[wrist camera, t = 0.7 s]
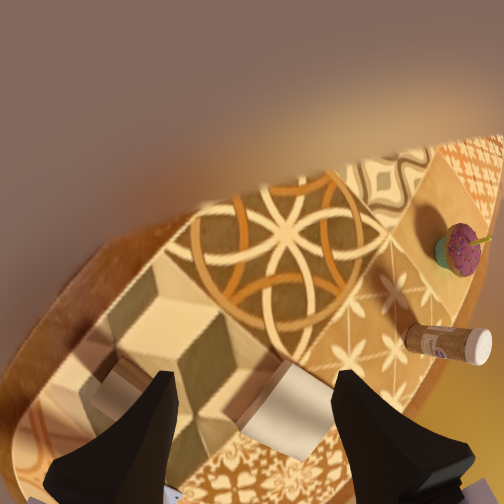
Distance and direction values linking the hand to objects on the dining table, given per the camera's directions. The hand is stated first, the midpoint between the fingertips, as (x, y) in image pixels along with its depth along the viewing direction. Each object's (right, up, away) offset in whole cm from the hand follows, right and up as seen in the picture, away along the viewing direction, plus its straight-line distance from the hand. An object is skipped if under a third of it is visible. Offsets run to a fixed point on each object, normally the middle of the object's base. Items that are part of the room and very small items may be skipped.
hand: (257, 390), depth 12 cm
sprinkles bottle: (+24, -7, +27) cm, 37 cm away
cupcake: (+31, +6, +31) cm, 44 cm away
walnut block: (-14, -9, +17) cm, 24 cm away
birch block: (+4, -14, +22) cm, 26 cm away
